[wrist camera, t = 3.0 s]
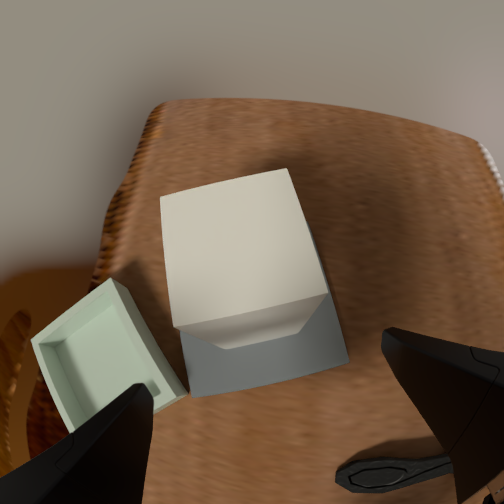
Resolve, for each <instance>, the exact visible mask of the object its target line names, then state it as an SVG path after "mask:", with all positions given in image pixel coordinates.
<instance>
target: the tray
mask: <svg viewBox="0 0 504 504" xmlns="http://www.w3.org/2000/svg"><path fill="white" fill-rule="evenodd" d="M31 342H32V345H33V348H34V351H35V354H36V357H37V360H38V362H39V365H40V368H41V371H42V373H43V376H44V378H45V381H46V383H47V386H48V388H49V390H50V393H51V395H52V397H53V400H54V402H55V404H56V406H57V408H58V410H59V412H60V414H61V417H62V419H63V421H64V423H65V424H66V426H67V428H68V430H69V432H70V433H71V432H73V431H74V430H76V429H77V428H78V427H80V426H81V425H82V424H83V423H85V422H86V421H87V420H89V419H90V418H91V417H92V416H94V415H95V414H96V413H98V412H99V411H100V410H101V409H103V408H104V407H105V406H106V405H108V404H109V403H110V402H111V401H113V400H114V399H115V398H116V397H118V396H119V395H120V394H121V393H123V392H124V391H125V390H126V389H128V388H129V387H130V386H131V385H133V384H134V383H144V384H145V385H146V387H147V388H148V390H149V391H150V393H151V394H152V396H153V399H154V412H153V415H154V414H155V413H157V412H159V411H161V410H162V409H164V408H166V407H167V406H169V405H171V404H173V403H174V402H176V401H178V400H179V399H181V398H183V397H184V396H186V395H188V392H187V391H186V389H185V388H184V386H183V385H182V383H181V381H180V380H179V378H178V377H177V375H176V374H175V372H174V371H173V369H172V367H171V366H170V364H169V363H168V361H167V359H166V358H165V356H164V354H163V353H162V351H161V349H160V348H159V346H158V344H157V342H156V341H155V339H154V337H153V335H152V334H151V332H150V330H149V328H148V327H147V325H146V323H145V321H144V319H143V317H142V316H141V314H140V312H139V310H138V308H137V306H136V304H135V302H134V300H133V298H132V296H131V294H130V292H129V290H128V288H126V287H125V286H123V285H122V284H120V283H118V282H117V281H115V280H114V279H112V278H109V279H108V280H107V281H105V282H104V283H103V284H101V285H100V286H99V287H97V288H96V289H95V290H93V291H92V292H91V293H89V294H88V295H87V296H85V297H84V298H83V299H81V300H80V301H79V302H78V303H76V304H75V305H74V306H72V307H71V308H70V309H69V310H67V311H66V312H65V313H63V314H62V315H61V316H60V317H58V318H57V319H56V320H54V321H53V322H52V323H51V324H50V325H48V326H47V327H46V328H45V329H43V330H42V331H41V332H40V333H38V334H37V335H36V336H35V337H34V338H33V339H31Z"/></svg>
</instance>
